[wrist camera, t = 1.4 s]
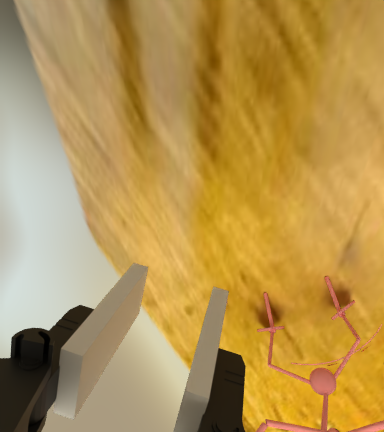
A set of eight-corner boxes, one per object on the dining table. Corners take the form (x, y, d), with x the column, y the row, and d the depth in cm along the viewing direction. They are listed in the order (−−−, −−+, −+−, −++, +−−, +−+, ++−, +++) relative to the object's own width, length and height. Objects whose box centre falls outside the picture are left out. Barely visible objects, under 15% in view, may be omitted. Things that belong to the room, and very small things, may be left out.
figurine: (210, 301, 53) (137, 612, 21) (386, 254, 46) (697, 614, 14) (244, 379, 57) (227, 753, 24) (413, 347, 50) (715, 814, 17)
